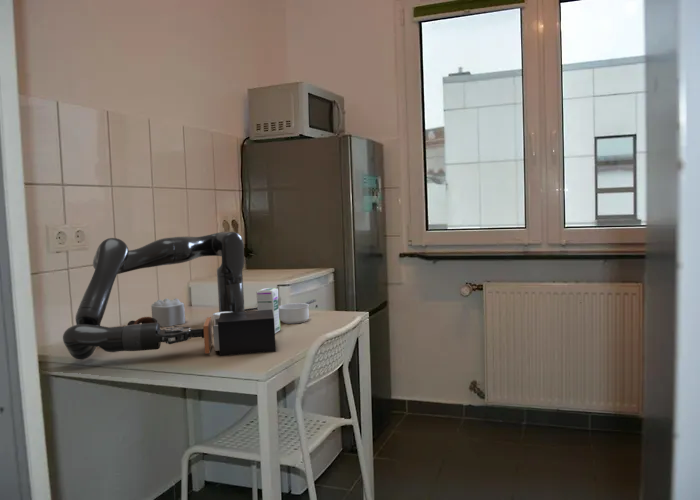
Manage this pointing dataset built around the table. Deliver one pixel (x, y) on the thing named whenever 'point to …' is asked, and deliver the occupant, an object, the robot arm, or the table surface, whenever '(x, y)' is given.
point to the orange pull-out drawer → (208, 335)
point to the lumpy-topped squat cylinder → (168, 312)
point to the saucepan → (294, 312)
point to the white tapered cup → (218, 315)
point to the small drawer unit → (246, 332)
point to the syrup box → (269, 304)
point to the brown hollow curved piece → (143, 321)
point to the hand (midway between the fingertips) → (204, 332)
